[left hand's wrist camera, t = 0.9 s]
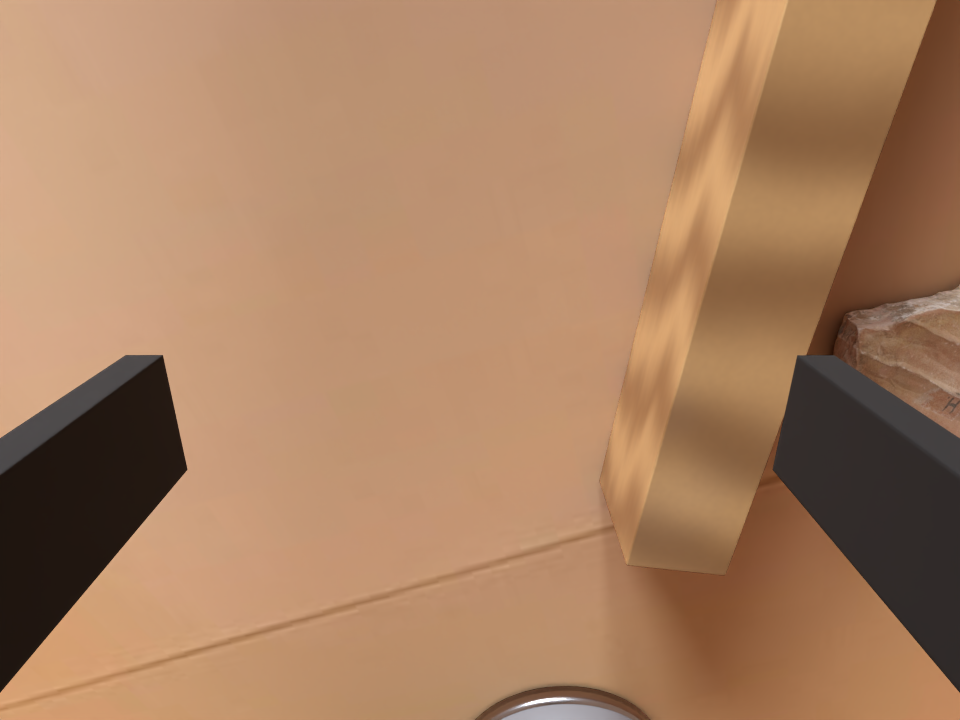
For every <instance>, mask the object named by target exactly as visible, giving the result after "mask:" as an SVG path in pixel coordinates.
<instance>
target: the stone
mask: <svg viewBox="0 0 960 720" xmlns="http://www.w3.org/2000/svg"><path fill="white" fill-rule="evenodd" d="M833 355H835V356H836V357H838V358H839V359H841V360H842V361H844V362H845V363H847V364H848V365H850V366H851V367H853V368H854V369H856V370H857V371H859V372H860V373H862V374H863V375H865V376H866V377H868V378H869V379H871V380H872V381H874V382H875V383H877V384H878V385H880V386H881V387H883V388H885V389H886V390H888V391H889V392H891V393H892V394H894V395H895V396H897V397H898V398H900V399H901V400H903V401H904V402H906V403H907V404H909V405H910V406H912V407H913V408H915V409H916V410H918V411H919V412H921V413H922V414H924V415H925V416H927V417H928V418H930V419H931V420H933V421H934V422H936V423H937V424H939V425H940V426H942V427H944V428H945V429H947V430H948V431H950V432H951V433H953V434H954V435H956V436H957V437H959V438H960V285H959V286H958V287H957V288H955V289H954V290H950V291H944V292H938V293H936V294H935V295H933V296H929V297H924V298H917V299H910V300H908V301H902V302H897V303H891V304H889V303H885V304H883V305H881V306H878V307H876V308H873V309H870V310H867V309H865V310H856V311H852V312H849V313H846V314H845V315H844V317H843V322H842V325H841V327H840V329H839V331H838V337H837V339H836V341H835V345H834V353H833Z"/></svg>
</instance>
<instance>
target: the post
mask: <svg viewBox="0 0 960 720" xmlns="http://www.w3.org/2000/svg"><path fill="white" fill-rule="evenodd" d="M936 2H937V0H717V3H716V7H715V11H714V15H713V19H712V23H711V27H710V31H709V35H708V39H707V43H706V47H705V52H704V56H703V60H702V64H701V68H700V72H699V76H698V80H697V84H696V88H695V92H694V97H693V101H692V105H691V109H690V113H689V117H688V121H687V125H686V129H685V133H684V137H683V141H682V146H681V150H680V154H679V158H678V162H677V166H676V170H675V174H674V178H673V182H672V186H671V191H670V195H669V199H668V203H667V207H666V211H665V215H664V219H663V223H662V227H661V231H660V235H659V240H658V244H657V248H656V252H655V256H654V260H653V264H652V268H651V272H650V276H649V280H648V285H647V289H646V293H645V297H644V301H643V305H642V309H641V313H640V317H639V321H638V325H637V329H636V334H635V338H634V342H633V346H632V350H631V354H630V358H629V362H628V366H627V370H626V374H625V379H624V383H623V387H622V391H621V395H620V399H619V403H618V407H617V411H616V415H615V419H614V423H613V428H612V432H611V436H610V440H609V444H608V448H607V452H606V456H605V460H604V464H603V468H602V473H601V477H600V484H601V487H602V490H603V493H604V496H605V500H606V503H607V506H608V509H609V512H610V515H611V518H612V521H613V524H614V527H615V531H616V534H617V537H618V540H619V543H620V546H621V549H622V552H623V555H624V559H625V562H626V565H628V566H638V567H647V568H657V569H666V570H676V571H685V572H695V573H705V574H714V575H724V576H725V575H726V573H727V570H728V567H729V564H730V562H731V559H732V556H733V554H734V551H735V548H736V545H737V543H738V540H739V537H740V535H741V532H742V529H743V526H744V524H745V521H746V518H747V516H748V513H749V510H750V507H751V505H752V502H753V499H754V497H755V494H756V491H757V488H758V486H759V483H760V480H761V477H762V475H763V472H764V469H765V467H766V464H767V461H768V458H769V456H770V453H771V450H772V448H773V445H774V442H775V439H776V437H777V434H778V431H779V429H780V426H781V423H782V420H783V418H784V414H785V410H786V405H787V400H788V396H789V391H790V387H791V382H792V377H793V373H794V368H795V363H796V359H797V355H807V352H808V350H809V347H810V344H811V342H812V339H813V336H814V333H815V331H816V328H817V325H818V323H819V320H820V317H821V314H822V312H823V309H824V306H825V303H826V301H827V298H828V295H829V293H830V290H831V287H832V284H833V282H834V279H835V276H836V274H837V271H838V268H839V265H840V263H841V260H842V257H843V255H844V252H845V249H846V246H847V244H848V241H849V238H850V236H851V233H852V230H853V227H854V225H855V222H856V219H857V216H858V214H859V211H860V208H861V206H862V203H863V200H864V197H865V195H866V192H867V189H868V187H869V184H870V181H871V178H872V176H873V173H874V170H875V168H876V165H877V162H878V159H879V157H880V154H881V151H882V149H883V146H884V143H885V140H886V138H887V135H888V132H889V129H890V127H891V124H892V121H893V119H894V116H895V113H896V110H897V108H898V105H899V102H900V100H901V97H902V94H903V91H904V89H905V86H906V83H907V81H908V78H909V75H910V72H911V70H912V67H913V64H914V62H915V59H916V56H917V53H918V51H919V48H920V45H921V42H922V40H923V37H924V34H925V32H926V29H927V26H928V23H929V21H930V18H931V15H932V13H933V10H934V7H935V4H936Z"/></svg>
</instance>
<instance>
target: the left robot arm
mask: <svg viewBox="0 0 960 720" xmlns="http://www.w3.org/2000/svg"><path fill="white" fill-rule="evenodd" d="M186 471H187V466H186V461H185V456H184V452H183V447H182V442H181V438H180V433H179V428H178V424H177V419H176V414H175V410H174V405H173V400H172V396H171V391H170V387H169V382H168V377H167V373H166V368H165V363H164V359H163V355H125V356H124V357H122V358H121V359H119V360H118V361H116V362H115V363H113V364H112V365H110V366H109V367H107V368H106V369H104V370H103V371H101V372H100V373H98V374H97V375H95V376H94V377H92V378H91V379H89V380H88V381H86V382H85V383H83V384H82V385H80V386H79V387H77V388H75V389H74V390H72V391H71V392H69V393H68V394H66V395H65V396H63V397H62V398H60V399H59V400H57V401H56V402H54V403H53V404H51V405H50V406H48V407H47V408H45V409H44V410H42V411H41V412H39V413H38V414H36V415H35V416H33V417H32V418H30V419H29V420H27V421H26V422H24V423H23V424H21V425H20V426H18V427H16V428H15V429H13V430H12V431H10V432H9V433H7V434H6V435H4V436H3V437H1V438H0V692H1V691H2V690H3V689H4V687H5V686H6V685H7V684H8V683H9V682H10V680H11V679H12V678H13V677H14V676H15V674H16V673H17V672H18V671H19V670H20V668H21V667H22V666H23V665H24V664H25V662H26V661H27V660H28V659H29V658H30V657H31V655H32V654H33V653H34V652H35V651H36V649H37V648H38V647H39V646H40V645H41V643H42V642H43V641H44V640H45V639H46V637H47V636H48V635H49V634H50V633H51V631H52V630H53V629H54V628H55V627H56V626H57V624H58V623H59V622H60V621H61V620H62V618H63V617H64V616H65V615H66V614H67V612H68V611H69V610H70V609H71V608H72V606H73V605H74V604H75V603H76V602H77V601H78V599H79V598H80V597H81V596H82V595H83V593H84V592H85V591H86V590H87V589H88V587H89V586H90V585H91V584H92V583H93V581H94V580H95V579H96V578H97V577H98V576H99V574H100V573H101V572H102V571H103V570H104V568H105V567H106V566H107V565H108V564H109V562H110V561H111V560H112V559H113V558H114V556H115V555H116V554H117V553H118V552H119V551H120V549H121V548H122V547H123V546H124V545H125V543H126V542H127V541H128V540H129V539H130V537H131V536H132V535H133V534H134V533H135V531H136V530H137V529H138V528H139V527H140V525H141V524H142V523H143V522H144V521H145V520H146V518H147V517H148V516H149V515H150V514H151V512H152V511H153V510H154V509H155V508H156V506H157V505H158V504H159V503H160V502H161V500H162V499H163V498H164V497H165V496H166V495H167V493H168V492H169V491H170V490H171V489H172V487H173V486H174V485H175V484H176V483H177V481H178V480H179V479H180V478H181V477H182V475H183V474H184V473H185V472H186ZM773 471H774V472H775V473H776V474H777V475H778V477H779V478H780V479H781V480H782V481H783V483H784V484H785V485H786V486H787V487H788V489H789V490H790V491H791V492H792V493H793V495H794V496H795V497H796V498H797V499H798V500H799V502H800V503H801V504H802V505H803V506H804V508H805V509H806V510H807V511H808V512H809V514H810V515H811V516H812V517H813V518H814V520H815V521H816V522H817V523H818V524H819V525H820V527H821V528H822V529H823V530H824V531H825V533H826V534H827V535H828V536H829V537H830V539H831V540H832V541H833V542H834V543H835V545H836V546H837V547H838V548H839V549H840V550H841V552H842V553H843V554H844V555H845V556H846V558H847V559H848V560H849V561H850V562H851V564H852V565H853V566H854V567H855V568H856V570H857V571H858V572H859V573H860V574H861V576H862V577H863V578H864V579H865V580H866V581H867V583H868V584H869V585H870V586H871V587H872V589H873V590H874V591H875V592H876V593H877V595H878V596H879V597H880V598H881V599H882V601H883V602H884V603H885V604H886V605H887V606H888V608H889V609H890V610H891V611H892V612H893V614H894V615H895V616H896V617H897V618H898V620H899V621H900V622H901V623H902V624H903V626H904V627H905V628H906V629H907V630H908V631H909V633H910V634H911V635H912V636H913V637H914V639H915V640H916V641H917V642H918V643H919V645H920V646H921V647H922V648H923V649H924V651H925V652H926V653H927V654H928V655H929V657H930V658H931V659H932V660H933V661H934V662H935V664H936V665H937V666H938V667H939V668H940V670H941V671H942V672H943V673H944V674H945V676H946V677H947V678H948V679H949V680H950V682H951V683H952V684H953V685H954V686H955V687H956V689H957V690H958V691H959V692H960V438H959V437H957V436H956V435H954V434H953V433H951V432H950V431H948V430H947V429H945V428H944V427H942V426H940V425H939V424H937V423H936V422H934V421H933V420H931V419H930V418H928V417H927V416H925V415H924V414H922V413H921V412H919V411H918V410H916V409H915V408H913V407H912V406H910V405H909V404H907V403H906V402H904V401H903V400H901V399H900V398H898V397H897V396H895V395H894V394H892V393H891V392H889V391H888V390H886V389H885V388H883V387H881V386H880V385H878V384H877V383H875V382H874V381H872V380H871V379H869V378H868V377H866V376H865V375H863V374H862V373H860V372H859V371H857V370H856V369H854V368H853V367H851V366H850V365H848V364H847V363H845V362H844V361H842V360H841V359H839V358H838V357H836V356H835V355H797V359H796V363H795V368H794V373H793V377H792V382H791V387H790V391H789V396H788V400H787V405H786V410H785V414H784V419H783V424H782V428H781V433H780V438H779V442H778V447H777V452H776V456H775V461H774V466H773ZM476 720H650V719H649V718H648V717H647V715H646V714H645V713H643V712H642V711H641V710H640V709H639V708H637V707H636V706H635V705H633V704H632V703H630V702H628V701H627V700H625V699H623V698H620V697H618V696H616V695H613V694H611V693H608V692H604V691H601V690H596V689H591V688H585V687H575V686H555V687H545V688H539V689H534V690H529V691H525V692H522V693H519V694H516V695H513V696H511V697H508V698H506V699H504V700H502V701H500V702H498V703H496V704H495V705H493V706H491V707H490V708H489V709H487V710H486V711H484V712H483V713H482V714H481V715H480V716H479V717H478V718H477V719H476Z"/></svg>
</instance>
